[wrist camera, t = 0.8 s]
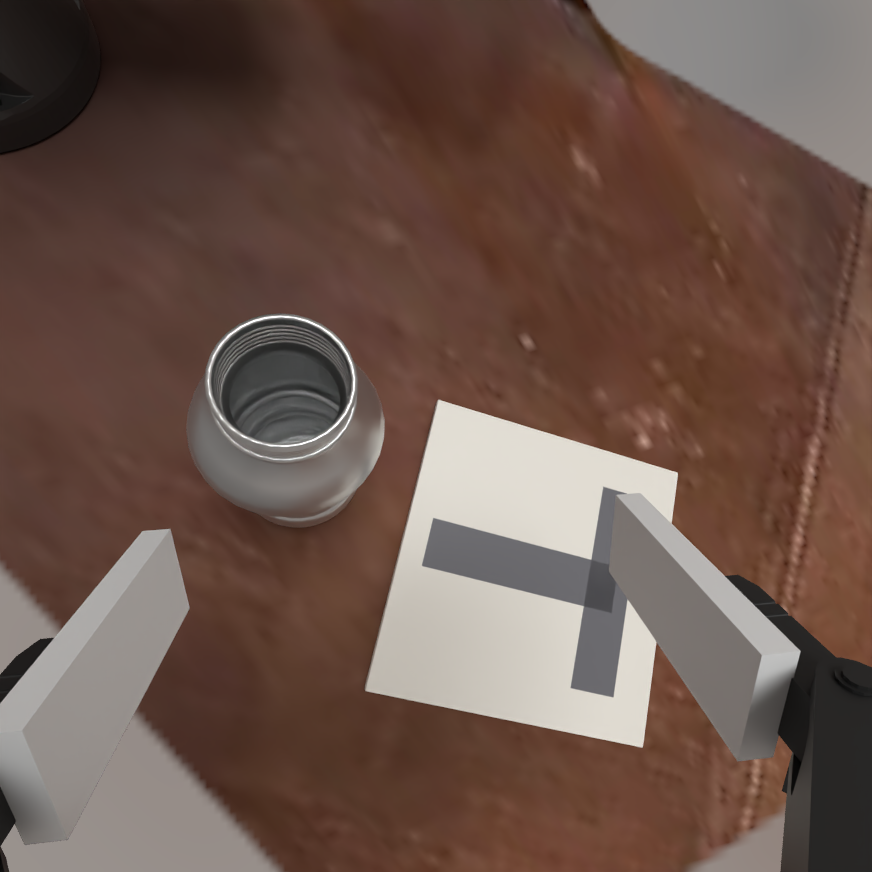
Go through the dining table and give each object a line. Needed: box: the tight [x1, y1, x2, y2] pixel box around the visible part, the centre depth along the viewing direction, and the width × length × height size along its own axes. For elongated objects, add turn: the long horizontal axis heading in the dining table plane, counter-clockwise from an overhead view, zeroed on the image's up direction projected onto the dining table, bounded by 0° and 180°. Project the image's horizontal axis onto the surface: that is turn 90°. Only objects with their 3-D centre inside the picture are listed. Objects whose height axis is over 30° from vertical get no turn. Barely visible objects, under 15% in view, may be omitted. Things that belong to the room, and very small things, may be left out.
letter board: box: [364, 400, 678, 748], centre depth 34 cm, size 18×18×1 cm
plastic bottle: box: [186, 314, 384, 527], centre depth 23 cm, size 6×7×20 cm
